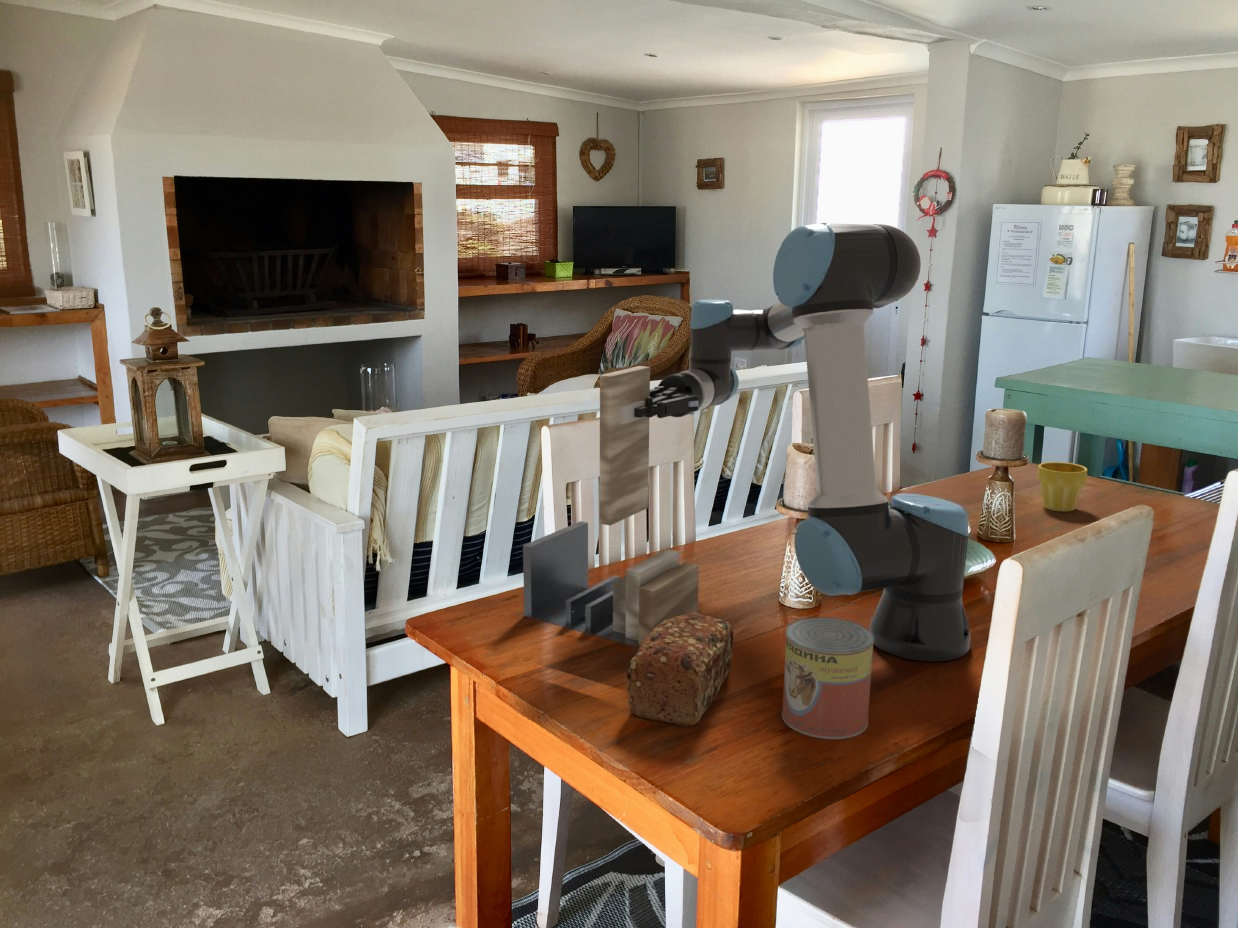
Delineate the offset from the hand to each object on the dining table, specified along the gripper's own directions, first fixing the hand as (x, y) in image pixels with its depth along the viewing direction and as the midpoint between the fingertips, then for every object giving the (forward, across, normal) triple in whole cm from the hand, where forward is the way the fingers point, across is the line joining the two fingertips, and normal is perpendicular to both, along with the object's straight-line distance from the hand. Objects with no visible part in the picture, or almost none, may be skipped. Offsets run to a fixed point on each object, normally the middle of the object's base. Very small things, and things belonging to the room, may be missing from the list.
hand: (613, 414), depth 159 cm
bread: (+18, -23, -34) cm, 45 cm away
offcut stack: (+3, -9, -33) cm, 34 cm away
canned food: (+14, -42, -34) cm, 56 cm away
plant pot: (-110, -52, -34) cm, 127 cm away
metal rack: (+3, -2, -34) cm, 34 cm away
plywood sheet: (-3, 0, -18) cm, 18 cm away
